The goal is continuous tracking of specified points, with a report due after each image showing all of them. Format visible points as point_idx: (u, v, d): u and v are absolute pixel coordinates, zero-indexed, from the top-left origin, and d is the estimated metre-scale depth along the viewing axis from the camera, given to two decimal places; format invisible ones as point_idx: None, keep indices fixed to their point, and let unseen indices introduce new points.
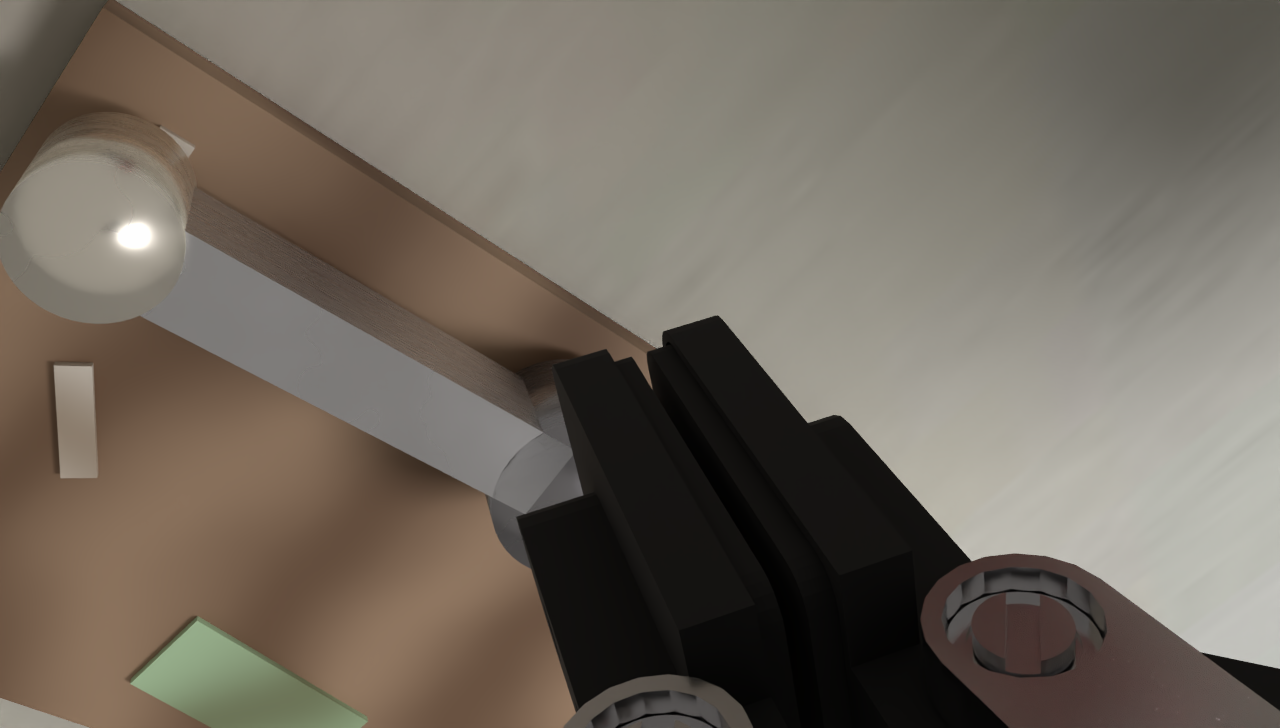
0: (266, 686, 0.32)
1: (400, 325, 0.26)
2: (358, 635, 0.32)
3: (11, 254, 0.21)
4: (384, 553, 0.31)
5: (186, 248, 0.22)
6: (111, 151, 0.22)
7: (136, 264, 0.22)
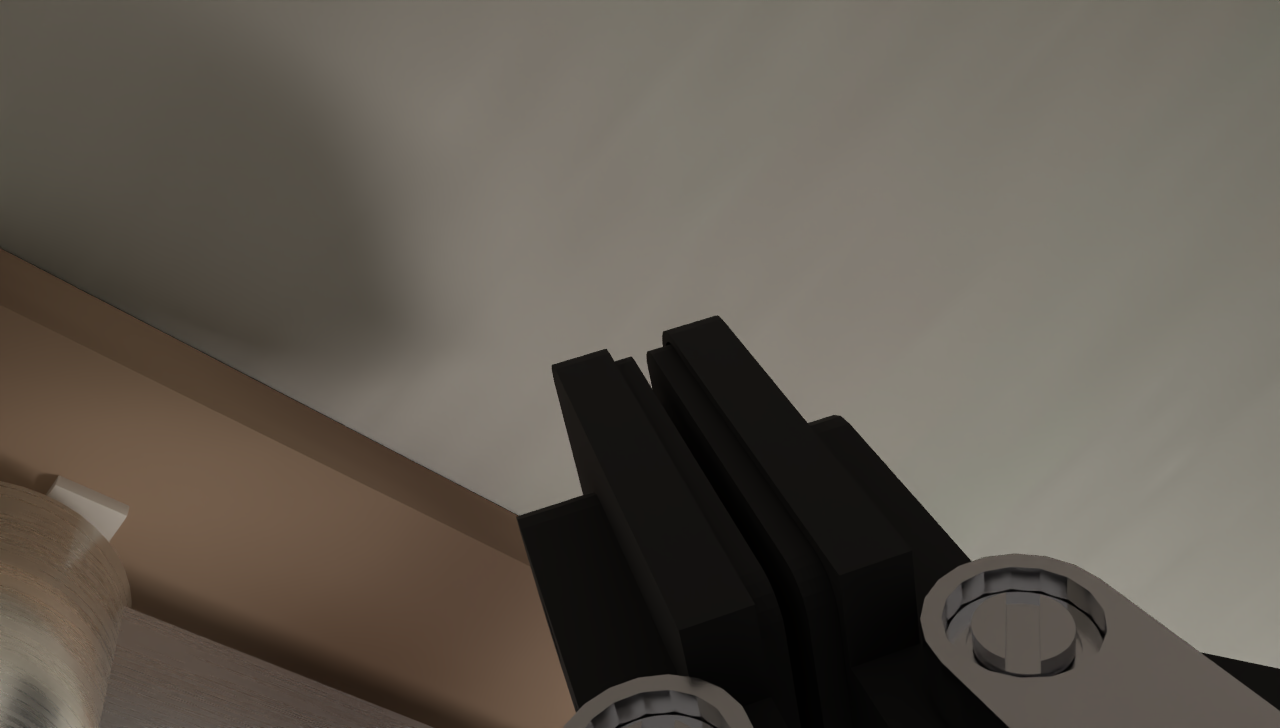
0: None
1: None
2: None
3: None
4: None
5: None
6: None
7: None
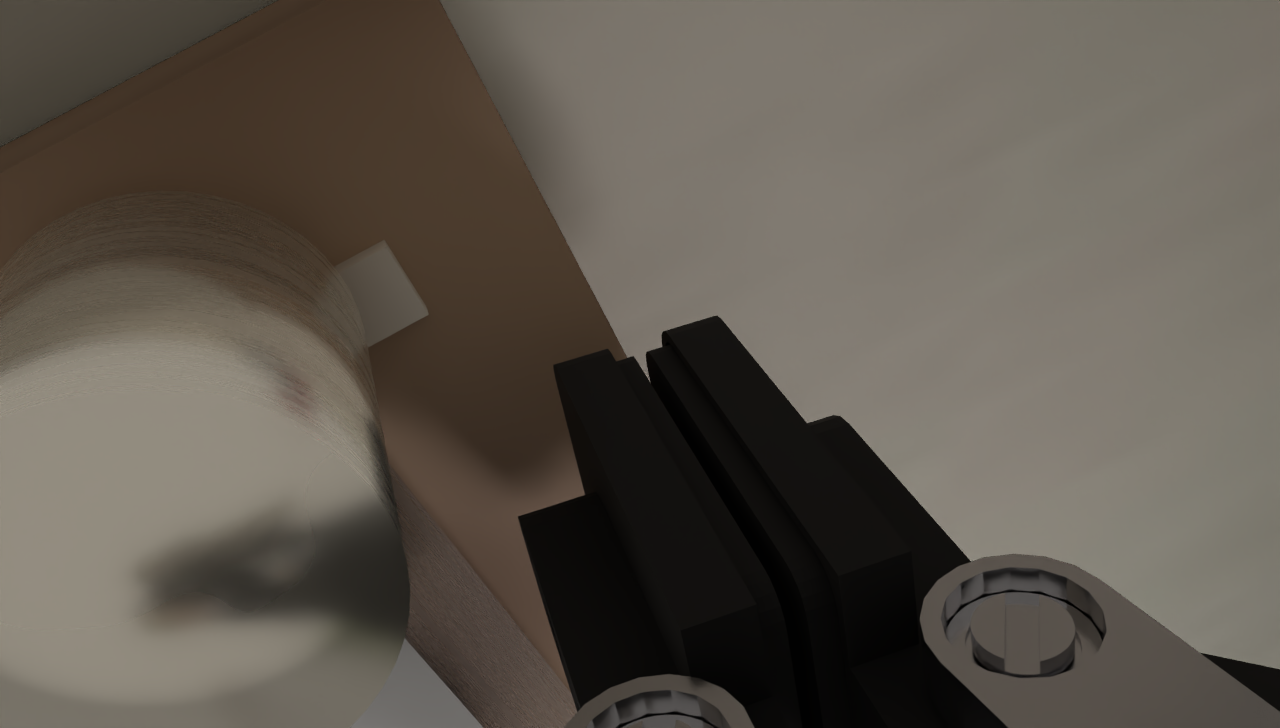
0: None
1: None
2: None
3: None
4: None
5: None
6: (299, 368, 0.08)
7: (239, 693, 0.08)
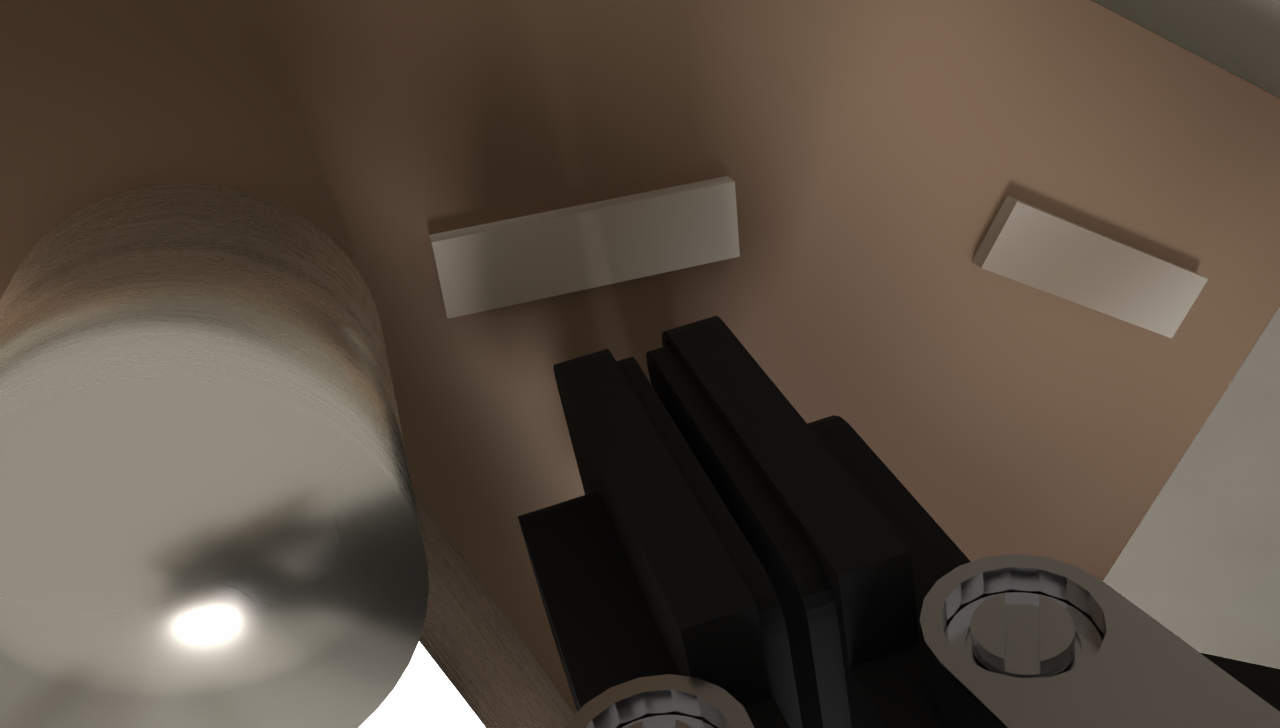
0: None
1: None
2: None
3: None
4: None
5: None
6: (328, 364, 0.08)
7: (252, 686, 0.08)
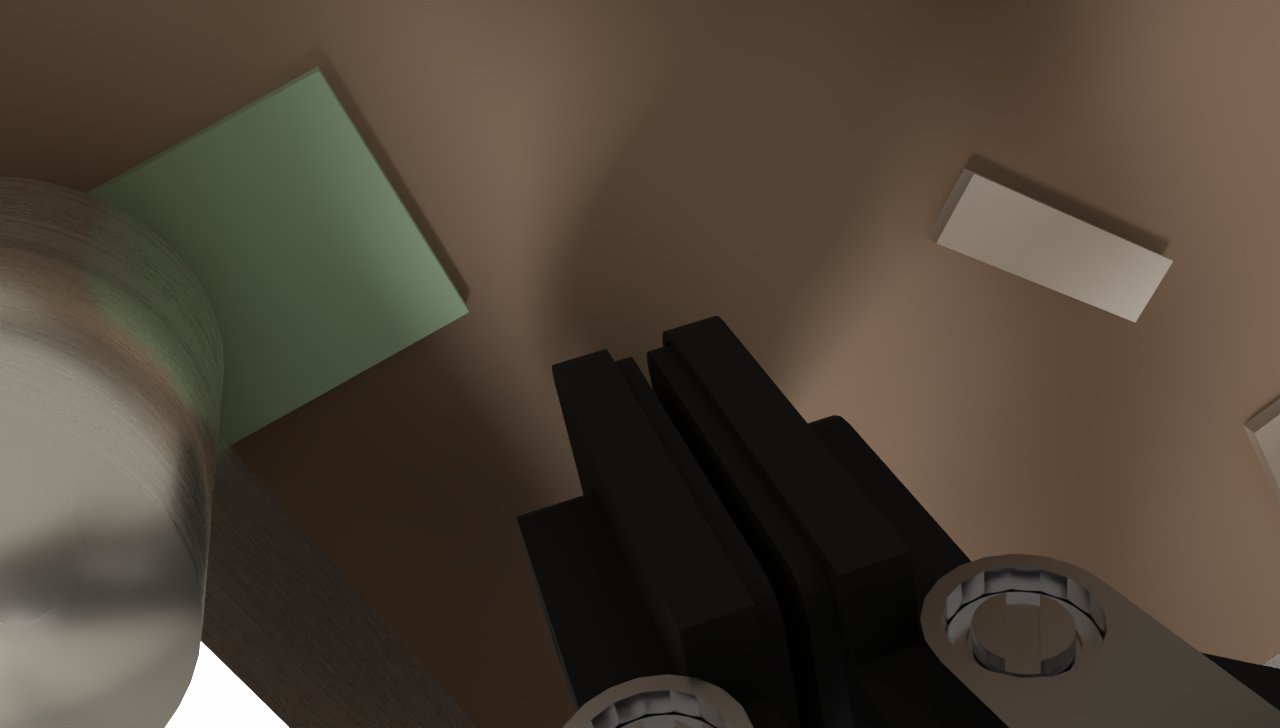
0: None
1: None
2: None
3: None
4: (468, 705, 0.13)
5: None
6: (82, 362, 0.07)
7: (16, 714, 0.07)
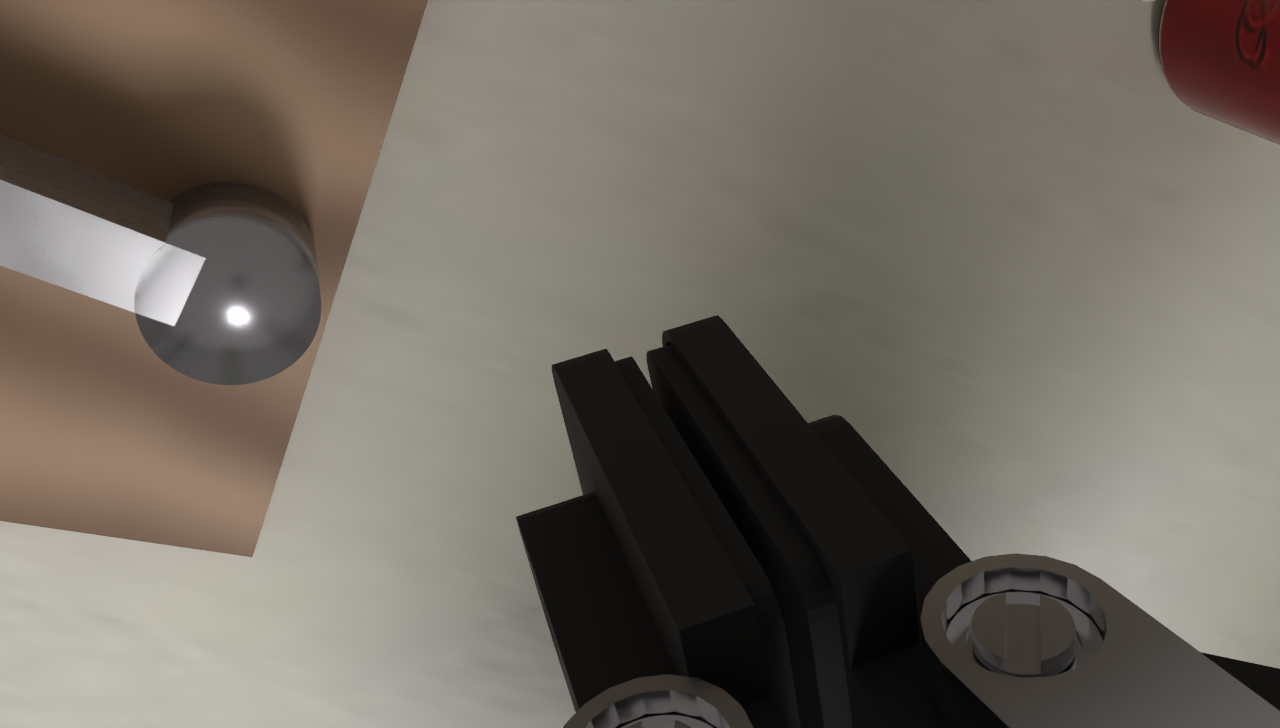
0: None
1: (11, 157, 0.27)
2: None
3: None
4: (21, 139, 0.29)
5: None
6: None
7: None
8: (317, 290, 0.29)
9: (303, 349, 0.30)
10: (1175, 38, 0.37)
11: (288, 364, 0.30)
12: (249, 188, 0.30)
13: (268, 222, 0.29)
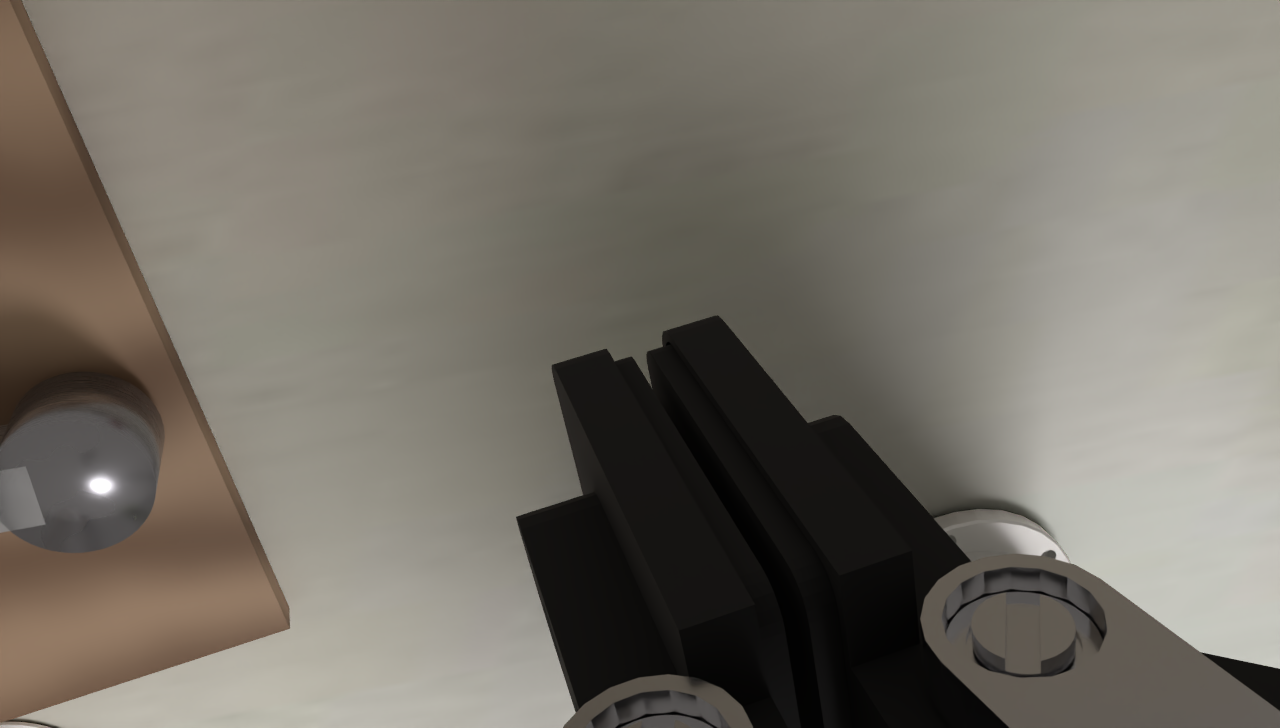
0: None
1: None
2: None
3: None
4: None
5: None
6: None
7: None
8: (126, 441, 0.33)
9: (153, 487, 0.34)
10: None
11: (150, 504, 0.34)
12: (53, 381, 0.35)
13: (59, 410, 0.33)
